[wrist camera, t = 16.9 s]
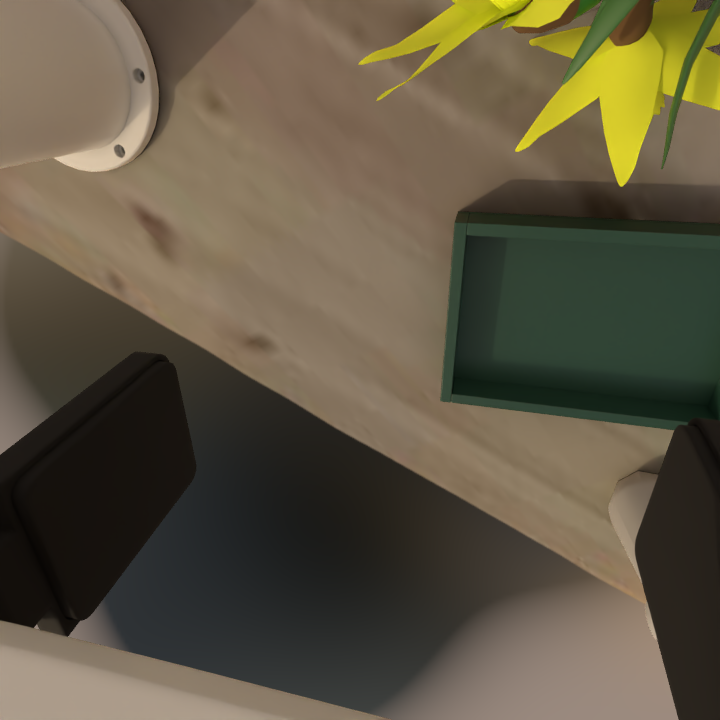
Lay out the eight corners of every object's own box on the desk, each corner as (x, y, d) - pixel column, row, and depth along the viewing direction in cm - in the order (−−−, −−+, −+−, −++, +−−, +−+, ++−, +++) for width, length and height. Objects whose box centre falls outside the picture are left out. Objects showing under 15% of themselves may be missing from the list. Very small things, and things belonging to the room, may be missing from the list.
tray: (443, 381, 42) (440, 401, 39) (458, 211, 35) (454, 222, 33) (714, 413, 38) (729, 437, 35) (789, 226, 31) (813, 240, 28)
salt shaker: (687, 512, 42) (752, 669, 31) (612, 521, 44) (647, 670, 33) (676, 457, 40) (741, 604, 29) (597, 468, 42) (629, 610, 31)
